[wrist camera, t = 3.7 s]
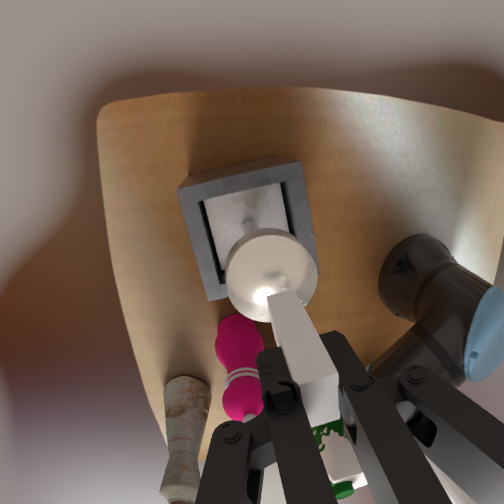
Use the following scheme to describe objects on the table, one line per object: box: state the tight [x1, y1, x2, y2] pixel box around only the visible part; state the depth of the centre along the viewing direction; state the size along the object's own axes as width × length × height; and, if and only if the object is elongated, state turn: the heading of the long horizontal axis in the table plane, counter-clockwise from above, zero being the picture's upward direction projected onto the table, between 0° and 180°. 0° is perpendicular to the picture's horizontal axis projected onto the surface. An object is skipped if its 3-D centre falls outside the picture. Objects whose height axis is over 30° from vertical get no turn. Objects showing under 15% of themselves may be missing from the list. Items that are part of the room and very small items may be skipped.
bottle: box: [160, 376, 212, 504], centre depth 40 cm, size 9×9×28 cm
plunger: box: [204, 183, 318, 322], centre depth 27 cm, size 8×8×15 cm
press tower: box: [177, 156, 319, 302], centre depth 37 cm, size 12×12×13 cm
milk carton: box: [312, 413, 368, 499], centre depth 51 cm, size 9×9×20 cm
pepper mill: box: [215, 314, 264, 423], centre depth 40 cm, size 7×7×20 cm
